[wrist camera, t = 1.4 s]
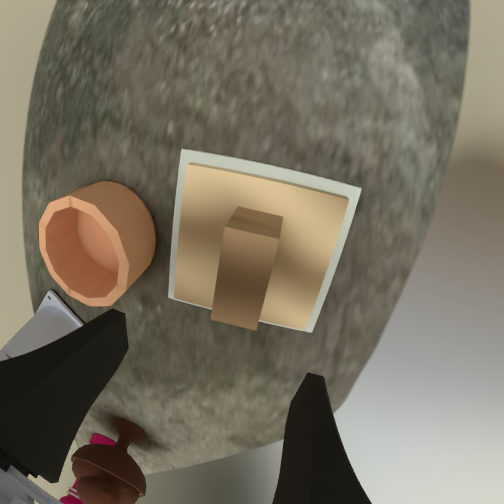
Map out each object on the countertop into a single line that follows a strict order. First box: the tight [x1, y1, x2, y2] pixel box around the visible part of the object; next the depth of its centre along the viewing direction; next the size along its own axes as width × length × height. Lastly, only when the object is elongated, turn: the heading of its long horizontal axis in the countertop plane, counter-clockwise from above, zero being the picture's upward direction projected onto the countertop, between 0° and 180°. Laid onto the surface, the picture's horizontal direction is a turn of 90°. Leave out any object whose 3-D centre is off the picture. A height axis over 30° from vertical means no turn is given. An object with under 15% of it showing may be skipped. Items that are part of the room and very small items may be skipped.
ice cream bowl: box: [71, 418, 147, 504], centre depth 29 cm, size 11×11×15 cm
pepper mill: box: [59, 434, 116, 504], centre depth 32 cm, size 7×7×20 cm
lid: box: [174, 162, 349, 330], centre depth 18 cm, size 10×10×4 cm
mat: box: [168, 148, 361, 333], centre depth 21 cm, size 12×12×1 cm
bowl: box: [39, 180, 157, 306], centre depth 20 cm, size 8×8×4 cm
